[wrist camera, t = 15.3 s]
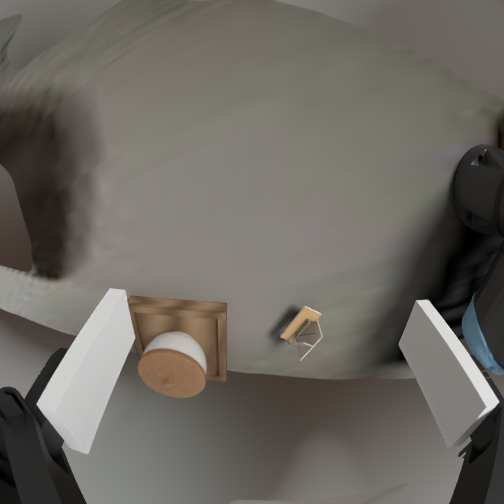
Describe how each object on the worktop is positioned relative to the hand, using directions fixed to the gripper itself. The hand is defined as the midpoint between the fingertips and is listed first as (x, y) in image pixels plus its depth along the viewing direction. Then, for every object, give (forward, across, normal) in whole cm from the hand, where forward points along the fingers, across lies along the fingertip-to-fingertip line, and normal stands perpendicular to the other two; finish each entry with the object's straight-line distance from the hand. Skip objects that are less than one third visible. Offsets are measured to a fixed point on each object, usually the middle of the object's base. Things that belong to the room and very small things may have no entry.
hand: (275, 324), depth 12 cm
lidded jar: (+27, +12, +27) cm, 40 cm away
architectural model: (+29, -8, +22) cm, 37 cm away
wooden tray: (+29, +12, +27) cm, 41 cm away
